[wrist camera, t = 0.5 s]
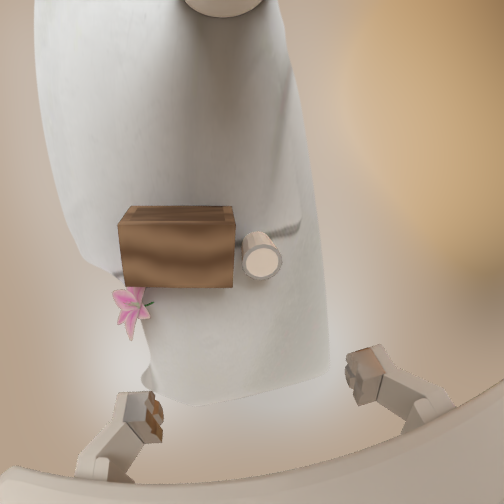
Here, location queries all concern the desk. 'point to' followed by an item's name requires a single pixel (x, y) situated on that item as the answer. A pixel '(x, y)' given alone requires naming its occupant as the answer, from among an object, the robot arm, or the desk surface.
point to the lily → (131, 307)
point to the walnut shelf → (178, 246)
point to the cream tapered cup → (260, 256)
